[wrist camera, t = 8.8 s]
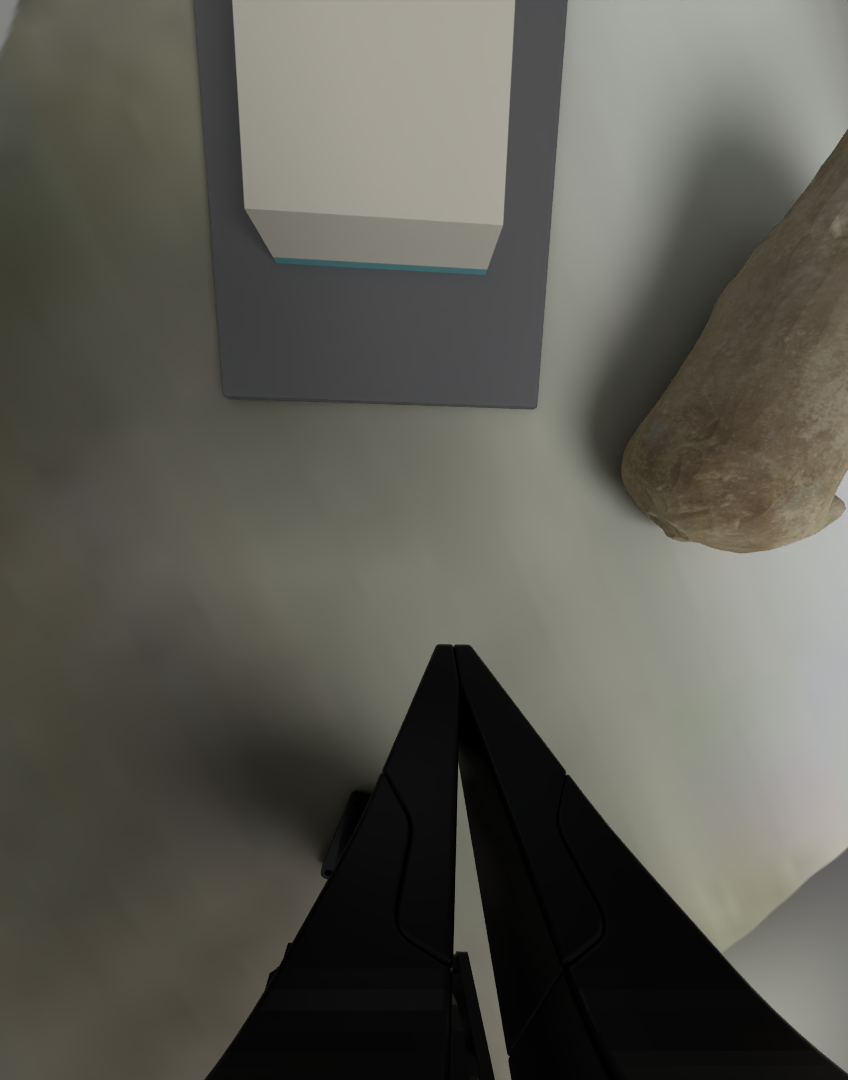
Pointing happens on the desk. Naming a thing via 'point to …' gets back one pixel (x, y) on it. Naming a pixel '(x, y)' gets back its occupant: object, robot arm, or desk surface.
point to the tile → (375, 129)
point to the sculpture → (760, 393)
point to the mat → (380, 294)
